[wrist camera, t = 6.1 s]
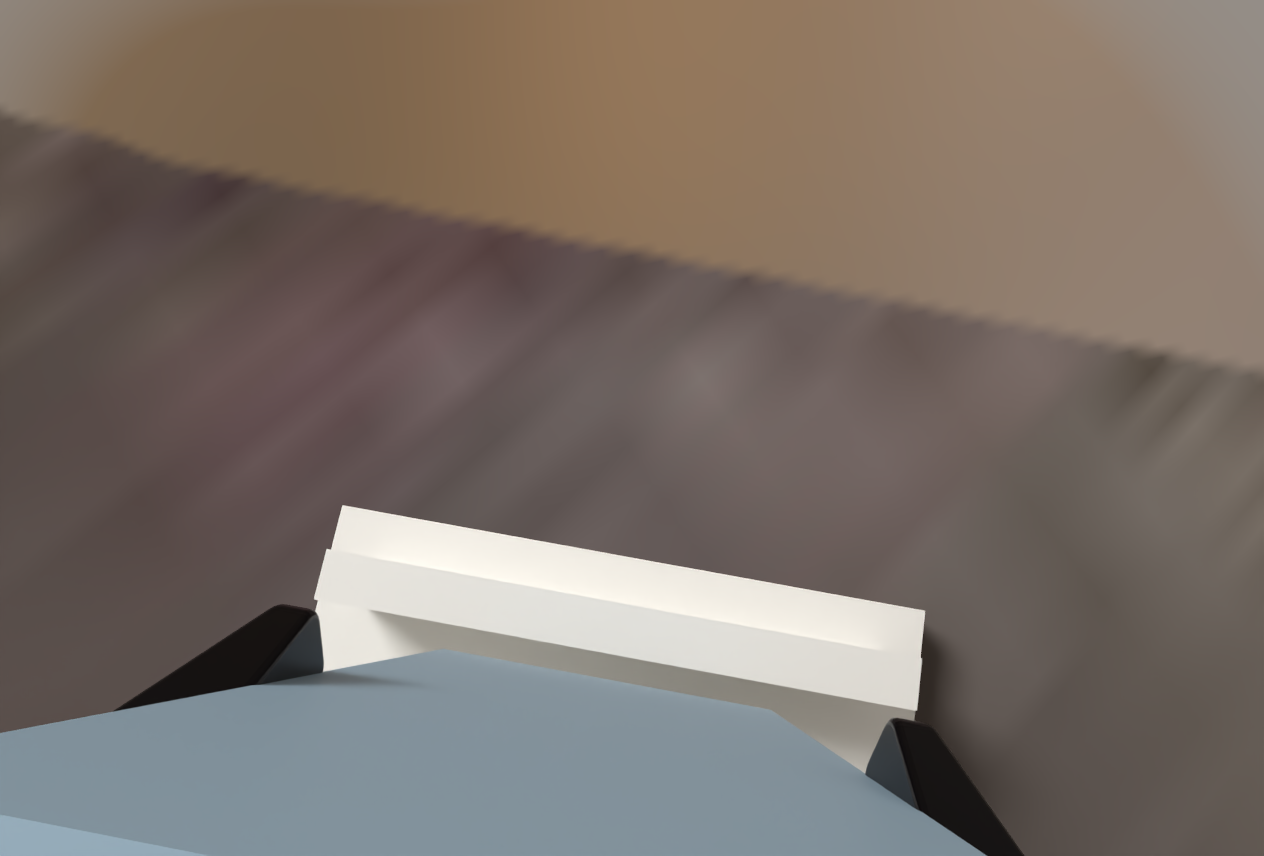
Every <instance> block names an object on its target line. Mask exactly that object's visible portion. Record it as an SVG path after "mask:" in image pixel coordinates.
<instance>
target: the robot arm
mask: <svg viewBox="0 0 1264 856" xmlns="http://www.w3.org/2000/svg"><path fill="white" fill-rule="evenodd" d="M323 669H324V657H323V648H322V638H321V629H320V620H319V616H318V614H317V613H316V612H315V611H314V610H312V609H308V608H302V607H297V606H291V605H285V604H281V605H277V606H274V607H272V608H270V609H269V610H267V611H266V612H264V613H263V614H261V615H259V616H258V617H256V618H255V619H253V620H252V621H250V622H249V623H247V624H246V625H244V626H243V627H241V628H240V629H238V630H237V631H235V632H233V633H232V634H230V635H229V636H227V637H226V638H224V639H223V640H221V641H220V642H218V643H217V644H215V645H214V646H212V647H211V648H209V649H207V650H206V651H204V652H203V653H201V654H200V655H198V656H197V657H195V658H194V659H192V660H191V661H189V662H188V663H186V664H185V665H183V666H182V667H180V668H178V669H177V670H175V671H174V672H172V673H171V674H169V675H168V676H166V677H165V678H163V679H162V680H160V681H159V682H157V683H156V684H154V685H152V686H151V687H149V688H148V689H146V690H145V691H143V692H142V693H140V694H139V695H137V696H136V697H134V698H133V699H131V700H130V701H128V702H127V703H125V704H123V705H122V706H120V707H119V708H117V709H116V710H114V711H120V710H125V709H130V708H135V707H141V706H146V705H151V704H156V703H162V702H167V701H172V700H177V699H183V698H188V697H193V696H198V695H204V694H209V693H214V692H219V691H225V690H230V689H235V688H240V687H246V686H251V685H261V684H266V683H271V682H277V681H282V680H287V679H292V678H297V677H302V676H308V675H313V674H318V673H323ZM114 711H113V712H114ZM865 775H866V776H868V777H869V778H871V779H872V780H874V781H875V782H877V783H878V784H880V785H881V786H883V787H884V788H885V789H887V790H888V791H890V792H891V793H893V794H894V795H896V796H897V797H899V798H900V799H902V800H903V801H905V802H906V803H908V804H909V805H910V806H912V807H913V808H915V809H917V810H918V811H921V812H923V813H924V814H926V815H927V816H929V817H930V818H932V819H933V820H935V821H936V822H938V823H939V824H941V825H942V826H943V827H945V828H946V829H948V830H949V831H951V832H952V833H954V834H955V835H957V836H958V837H960V838H961V839H963V840H964V841H966V842H967V843H969V844H970V845H972V846H973V847H975V848H976V849H978V850H979V851H980V852H982V853H983V854H985V855H986V856H1024V854H1023V853H1022V852H1021V850H1020V849H1019V847H1018V846H1017V845H1016V843H1015V842H1014V840H1013V839H1012V838H1011V836H1010V835H1009V833H1008V832H1007V830H1006V829H1005V828H1004V826H1003V825H1002V823H1001V822H1000V821H999V819H998V818H997V816H996V815H995V814H994V812H993V811H992V809H991V808H990V806H989V805H988V804H987V802H986V801H985V799H984V798H983V797H982V795H981V794H980V792H979V791H978V789H977V788H976V787H975V785H974V784H973V782H972V781H971V780H970V778H969V777H968V775H967V774H966V773H965V771H964V770H963V768H962V767H961V765H960V764H959V763H958V761H957V760H956V758H955V757H954V756H953V754H952V753H951V751H950V750H949V749H948V747H947V746H946V744H945V743H944V741H943V740H942V739H941V737H940V736H939V734H938V733H937V732H936V730H935V729H934V728H933V727H931V726H930V725H929V724H926V723H923V722H918V721H913V720H907V719H902V718H892V719H890V720H889V721H888V722H887V723H886V725H885V727H884V729H883V731H882V733H881V736H880V738H879V740H878V742H877V744H876V747H875V749H874V751H873V753H872V755H871V758H870V760H869V762H868V765H867V768H866V772H865Z"/></svg>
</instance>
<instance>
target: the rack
mask: <svg viewBox="0 0 1264 856" xmlns="http://www.w3.org/2000/svg"><path fill="white" fill-rule="evenodd" d="M314 599H315V600H318V603H317V607H316V611H315V612H316V613H317V614H318V616H319V620H320V629H321V638H322V648H323V657H324V669H323V672H324V671H330V670H335V669H340V668H345V667H351V666H356V665H361V664H366V663H372V662H377V661H382V660H387V659H393V658H398V657H403V656H408V655H414V654H419V653H424V652H429V651H435V650H440V649H447V650H452V651H458V652H463V653H468V654H474V655H479V656H485V657H490V658H495V659H501V660H506V661H511V662H517V663H522V664H528V665H533V666H538V667H544V668H549V669H554V670H560V671H565V672H570V673H576V674H581V675H587V676H592V677H597V678H603V679H608V680H613V681H619V682H624V683H630V684H635V685H640V686H646V687H651V688H656V689H662V690H667V691H672V692H678V693H683V694H689V695H694V696H699V697H705V698H710V699H715V700H721V701H726V702H732V703H737V704H742V705H748V706H753V707H758V708H764V709H769V710H772V711H773V712H775V713H776V714H778V715H779V716H781V717H782V718H784V719H785V720H787V721H788V722H789V723H791V724H792V725H794V726H795V727H797V728H798V729H800V730H801V731H803V732H804V733H806V734H807V735H809V736H810V737H812V738H813V739H815V740H816V741H818V742H819V743H821V744H822V745H824V746H825V747H826V748H828V749H829V750H831V751H832V752H834V753H835V754H837V755H838V756H840V757H841V758H843V759H844V760H846V761H847V762H849V763H850V764H852V765H853V766H855V767H856V768H858V769H859V770H861V771H862V772H864V773H865V772H866V768H867V765H868V762H869V760H870V758H871V755H872V753H873V751H874V749H875V747H876V744H877V742H878V740H879V738H880V736H881V733H882V731H883V729H884V727H885V725H886V723H887V722H888V721H889V720H890V719H892V718H902V719H907V720H913V721H914V718H915V711H917V706H918V696H919V686H920V676H921V666H922V658H921V648H922V638H923V628H924V618H925V611H923V610H917V609H912V608H906V607H901V606H895V605H890V604H884V603H879V602H873V601H868V600H862V599H857V598H851V597H846V596H840V595H835V594H829V593H824V592H818V591H812V590H807V589H801V588H796V587H790V586H785V585H779V584H774V583H768V582H763V581H757V580H752V579H746V578H741V577H735V576H730V575H724V574H719V573H713V572H708V571H702V570H697V569H691V568H686V567H680V566H674V565H669V564H663V563H658V562H652V561H647V560H641V559H636V558H630V557H625V556H619V555H614V554H608V553H603V552H597V551H592V550H586V549H581V548H575V547H570V546H564V545H559V544H553V543H547V542H542V541H536V540H531V539H525V538H520V537H514V536H509V535H503V534H498V533H492V532H487V531H481V530H476V529H470V528H465V527H459V526H454V525H448V524H443V523H437V522H432V521H426V520H421V519H415V518H409V517H404V516H398V515H393V514H387V513H382V512H376V511H371V510H365V509H360V508H354V507H349V506H343V505H342V509H341V513H340V517H339V521H338V525H337V529H336V533H335V536H334V540H333V544H332V548H331V550H329V549H327V550H326V554H325V558H324V562H323V566H322V570H321V573H320V577H319V581H318V585H317V589H316V593H315V597H314Z"/></svg>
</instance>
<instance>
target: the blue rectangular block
mask: <svg viewBox="0 0 1264 856" xmlns="http://www.w3.org/2000/svg"><path fill="white" fill-rule="evenodd" d="M0 856H986V855H985V854H983V853H982V852H980V851H979V850H978V849H976V848H975V847H973V846H972V845H970V844H969V843H967V842H966V841H964V840H963V839H961V838H960V837H958V836H957V835H955V834H954V833H952V832H951V831H949V830H948V829H946V828H945V827H943V826H942V825H941V824H939V823H938V822H936V821H935V820H933V819H932V818H930V817H929V816H927V815H926V814H924V813H923V812H921V811H918V810H917V809H915V808H913V807H912V806H910V805H909V804H908V803H906V802H905V801H903V800H902V799H900V798H899V797H897V796H896V795H894V794H893V793H891V792H890V791H888V790H887V789H885V788H884V787H883V786H881V785H880V784H878V783H877V782H875V781H874V780H872V779H871V778H869V777H868V776H866V775H865V773H864V772H862V771H861V770H859V769H858V768H856V767H855V766H853V765H852V764H850V763H849V762H847V761H846V760H844V759H843V758H841V757H840V756H838V755H837V754H835V753H834V752H832V751H831V750H829V749H828V748H826V747H825V746H824V745H822V744H821V743H819V742H818V741H816V740H815V739H813V738H812V737H810V736H809V735H807V734H806V733H804V732H803V731H801V730H800V729H798V728H797V727H795V726H794V725H792V724H791V723H789V722H788V721H787V720H785V719H784V718H782V717H781V716H779V715H778V714H776V713H775V712H773V711H772V710H769V709H764V708H758V707H753V706H748V705H742V704H737V703H732V702H726V701H721V700H715V699H710V698H705V697H699V696H694V695H689V694H683V693H678V692H672V691H667V690H662V689H656V688H651V687H646V686H640V685H635V684H630V683H624V682H619V681H613V680H608V679H603V678H597V677H592V676H587V675H581V674H576V673H570V672H565V671H560V670H554V669H549V668H544V667H538V666H533V665H528V664H522V663H517V662H511V661H506V660H501V659H495V658H490V657H485V656H479V655H474V654H468V653H463V652H458V651H452V650H447V649H440V650H435V651H429V652H424V653H419V654H414V655H408V656H403V657H398V658H393V659H387V660H382V661H377V662H372V663H366V664H361V665H356V666H351V667H345V668H340V669H335V670H330V671H324V672H323V673H318V674H313V675H308V676H302V677H297V678H292V679H287V680H282V681H277V682H271V683H266V684H261V685H251V686H246V687H240V688H235V689H230V690H225V691H219V692H214V693H209V694H204V695H198V696H193V697H188V698H183V699H177V700H172V701H167V702H162V703H156V704H151V705H146V706H141V707H135V708H130V709H125V710H120V711H114V712H109V713H104V714H99V715H93V716H88V717H83V718H78V719H72V720H67V721H62V722H57V723H51V724H46V725H41V726H36V727H30V728H25V729H20V730H15V731H9V732H4V733H0Z"/></svg>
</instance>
